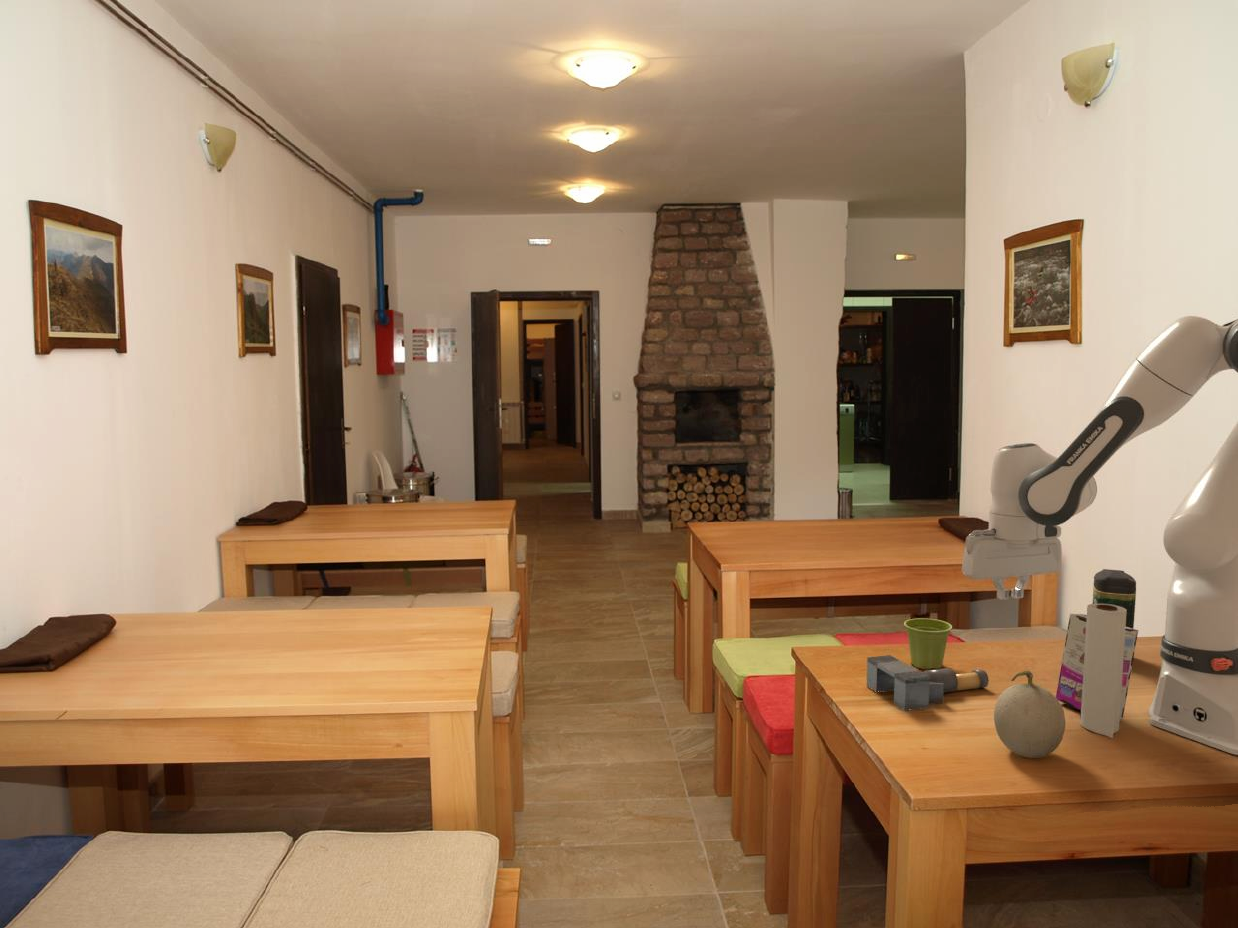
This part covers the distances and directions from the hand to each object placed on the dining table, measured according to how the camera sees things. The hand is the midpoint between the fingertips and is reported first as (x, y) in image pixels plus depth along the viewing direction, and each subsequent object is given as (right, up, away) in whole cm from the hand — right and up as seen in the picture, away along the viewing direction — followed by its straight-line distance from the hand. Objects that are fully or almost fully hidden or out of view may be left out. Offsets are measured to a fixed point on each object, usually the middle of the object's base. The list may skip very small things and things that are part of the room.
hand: (1010, 598), depth 185 cm
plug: (-11, -17, -1) cm, 21 cm away
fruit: (-10, -21, -30) cm, 38 cm away
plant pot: (-12, -16, +13) cm, 24 cm away
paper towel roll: (+7, -20, -20) cm, 29 cm away
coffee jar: (+28, -15, +18) cm, 37 cm away
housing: (-21, -18, -4) cm, 28 cm away
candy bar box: (+9, -19, -12) cm, 24 cm away
